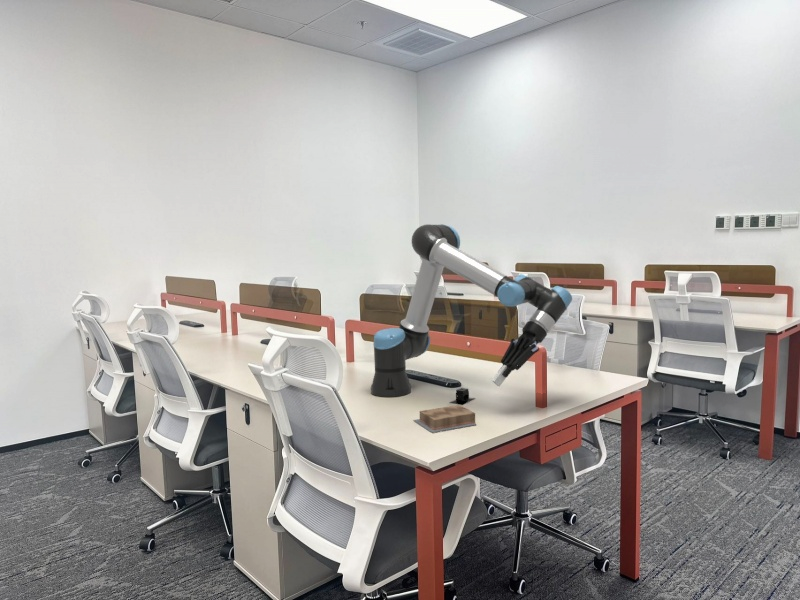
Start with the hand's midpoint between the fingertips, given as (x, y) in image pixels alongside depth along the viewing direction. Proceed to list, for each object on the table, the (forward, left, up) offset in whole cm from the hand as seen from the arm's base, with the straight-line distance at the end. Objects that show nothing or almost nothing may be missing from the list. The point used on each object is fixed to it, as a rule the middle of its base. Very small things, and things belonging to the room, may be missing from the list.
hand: (495, 383), depth 178 cm
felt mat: (-7, -18, -10) cm, 21 cm away
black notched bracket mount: (-18, +5, -11) cm, 22 cm away
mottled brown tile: (-4, -10, -8) cm, 14 cm away
